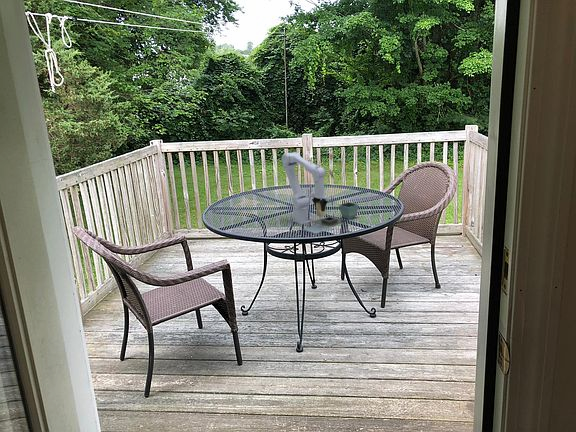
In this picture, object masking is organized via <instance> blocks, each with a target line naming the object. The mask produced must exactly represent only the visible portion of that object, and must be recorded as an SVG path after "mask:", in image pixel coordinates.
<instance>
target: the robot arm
mask: <svg viewBox="0 0 576 432" xmlns="http://www.w3.org/2000/svg"><path fill="white" fill-rule="evenodd" d="M280 161H281V163H282V165H283V168H284V171H285V174H286V176H287V178H288V179H287V180H288V182H289V185H290V188H291V190H292V192H293V197H292V198H291V200H292V206H293V210H292V218H293V219H292V222H293V223H297V224H300V225H303V224H307V223H310V222H311V220H310V219H309V211H308V209H309V206H310V205H311V201H312V202H313V205H314V207H315V209H316V203H317V202H320V205H321V211H322V212H323V211H325V207H326V208H327V205H328V202H329V201H330V199H331V198H330V196H328V195H326V193H325V177H326V175H327V171H326V168H324V167H323V166H322V167H320V166H319V165H317V164H315V163H314V162H313V161H307V160H306V159H305V158H303V157H302V156H301V155H300V153H298V152H297V151H294V152H289V153H283V154H282V156H281V160H280ZM297 164H298V165H300V166H302V167H304V170H305V171H306V172H308V173H309V174H311V175H312V176H311V177H312V178H313V183H314V193H310V195H309V196H310V198H311V200H310V198H309V197H308V195H307V193H304V192H303V190H302V187H301V185H300V182H299V179H298V177H297V173H296V171H295V167H296V166H297Z"/></svg>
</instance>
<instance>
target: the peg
mask: <svg viewBox="0 0 576 432" xmlns="http://www.w3.org/2000/svg"><path fill="white" fill-rule="evenodd" d="M315 210H316V217H319V218H322V217H323V218H324V217H325V216H326V217H327V206H326V207H325V211H323V212H322V211H321V205H320V202H317V203H316V208H315Z"/></svg>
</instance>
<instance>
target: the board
mask: <svg viewBox="0 0 576 432" xmlns="http://www.w3.org/2000/svg"><path fill="white" fill-rule="evenodd" d="M331 229H332V227H327V226H323V225H320V224H317V223H316V224H314V225H311V226H307V227H305V228H302V231H305V232H308V233H310V234H314V235H318V234H319V233H322V232H325V231H327V230H331Z"/></svg>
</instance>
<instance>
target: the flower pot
mask: <svg viewBox="0 0 576 432" xmlns="http://www.w3.org/2000/svg"><path fill="white" fill-rule="evenodd" d="M338 206H339V207H338V208H339V213H340V215H341V217H342V218H344V219H345V220H346V219H347V220H351V219H355V218H356V216H357V215H358V211H359V204H357V203H353V202H350V201H348V202H345V203H341V204H339V205H338Z"/></svg>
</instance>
